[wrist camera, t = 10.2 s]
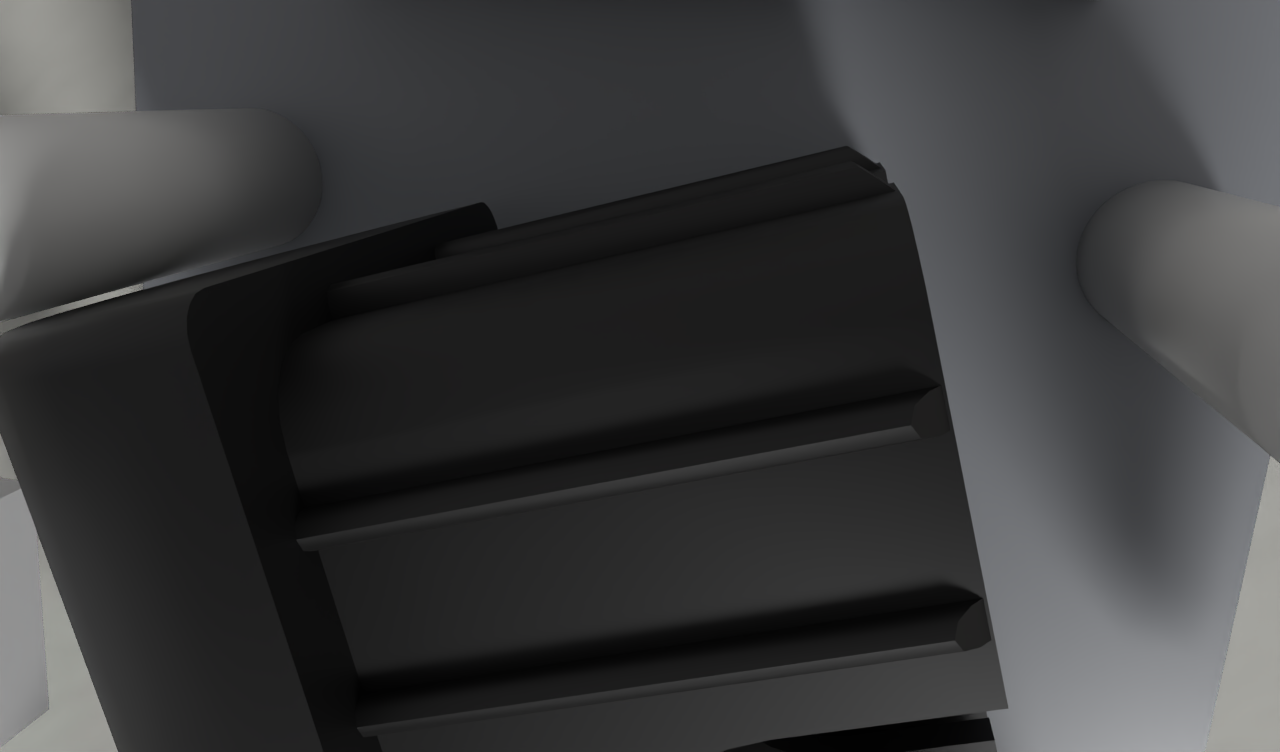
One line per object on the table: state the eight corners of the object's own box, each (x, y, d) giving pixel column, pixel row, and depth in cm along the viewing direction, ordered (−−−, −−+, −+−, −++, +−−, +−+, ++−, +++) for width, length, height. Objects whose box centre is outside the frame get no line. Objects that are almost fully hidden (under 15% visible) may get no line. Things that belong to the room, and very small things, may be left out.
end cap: (265, 254, 14) (-261, 402, 7) (864, 105, 12) (900, 121, 6) (487, 971, 15) (239, 1604, 9) (1027, 921, 14) (1195, 1639, 7)
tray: (210, 983, 18) (-92, 1415, 12) (175, -136, 14) (-309, -302, 8) (1085, 1153, 16) (1231, 1761, 10) (1344, -80, 12) (1837, -244, 6)
